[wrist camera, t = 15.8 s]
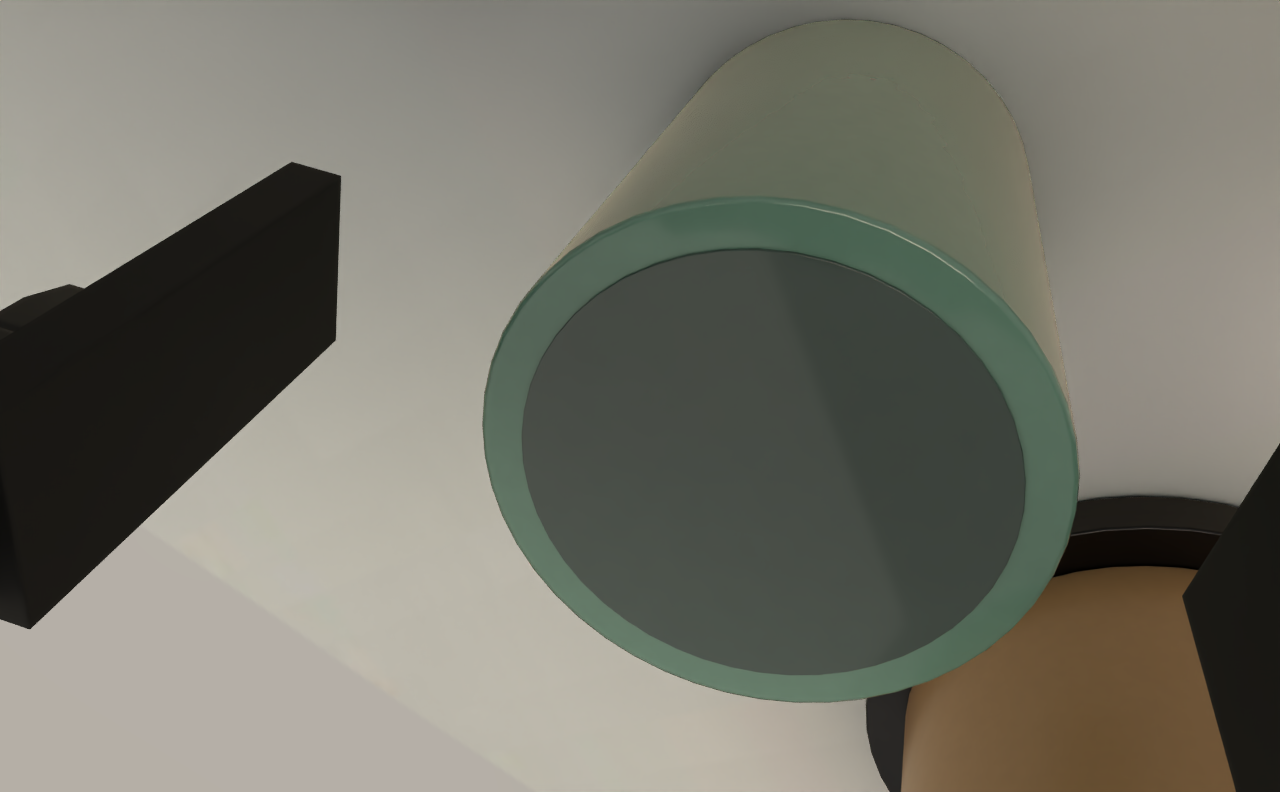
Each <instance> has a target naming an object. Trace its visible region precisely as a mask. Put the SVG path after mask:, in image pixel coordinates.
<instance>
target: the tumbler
mask: <svg viewBox="0 0 1280 792" xmlns="http://www.w3.org/2000/svg"><path fill="white" fill-rule="evenodd" d="M482 425H483V438H484V450H485V459H486V463H487V468H488V472H489V477H490V481H491V486H492V489H493V491H494V494H495V497H496V500H497V502H498V505H499V508H500V511H501V513H502V516H503V518H504V520H505V522H506V524H507V526H508V528H509V530H510V531H511V533H512V535H513V537H514V539H515V541H516V543H517V545H518V546H519V548H520V549H521V551H522V552H523V554H524V555H525V557H526V558H527V560H528V561H529V563H530V564H531V566H532V567H533V569H534V570H535V571H536V572H537V574H538V575H539V576H540V577H541V578H542V580H543V581H544V582H545V583H546V584H547V585H548V587H549V588H550V589H551V590H552V591H553V593H554V594H555V595H556V596H557V597H558V598H559V599H560V600H561V601H562V602H563V603H565V604H566V605H567V606H568V607H569V608H570V609H571V610H572V611H573V612H574V613H575V614H576V615H577V616H578V617H579V618H580V619H582V620H583V621H584V622H586V623H587V624H588V625H589V626H591V627H592V628H593V629H595V630H596V631H597V632H598V633H600V634H601V635H602V636H604V637H605V638H606V639H608V640H610V641H611V642H613V643H614V644H616V645H617V646H619V647H621V648H622V649H624V650H625V651H627V652H628V653H630V654H632V655H633V656H635V657H637V658H639V659H641V660H643V661H645V662H647V663H649V664H651V665H653V666H655V667H657V668H659V669H661V670H663V671H665V672H668V673H670V674H673V675H675V676H678V677H680V678H683V679H685V680H688V681H690V682H693V683H696V684H699V685H703V686H706V687H710V688H713V689H716V690H720V691H723V692H727V693H732V694H737V695H742V696H747V697H752V698H757V699H764V700H775V701H785V702H838V701H848V700H858V699H865V698H870V697H875V696H880V695H885V694H889V693H894V692H898V691H901V690H904V689H907V688H910V687H913V686H916V685H919V684H922V683H925V682H928V681H931V680H933V679H935V678H937V677H939V676H941V675H943V674H946V673H948V672H950V671H952V670H954V669H956V668H959V667H960V666H962V665H963V664H965V663H967V662H968V661H970V660H971V659H973V658H975V657H976V656H978V655H979V654H981V653H983V652H984V651H986V650H987V649H988V648H990V647H991V646H992V645H993V644H994V643H996V642H997V641H998V640H999V639H1000V638H1002V637H1003V636H1004V635H1005V634H1006V633H1008V632H1009V631H1010V630H1011V629H1012V628H1013V627H1014V626H1015V625H1016V624H1017V623H1018V622H1019V621H1020V620H1021V618H1022V617H1023V616H1024V615H1025V614H1026V613H1027V612H1028V611H1029V610H1030V608H1031V607H1032V606H1033V605H1034V604H1035V603H1036V601H1037V600H1038V598H1039V597H1040V595H1041V594H1042V592H1043V590H1044V589H1045V587H1046V586H1047V584H1048V583H1049V581H1050V580H1051V578H1052V577H1053V575H1054V574H1055V571H1056V569H1057V567H1058V565H1059V562H1060V560H1061V558H1062V556H1063V553H1064V551H1065V549H1066V547H1067V545H1068V542H1069V538H1070V534H1071V530H1072V526H1073V523H1074V519H1075V515H1076V511H1077V501H1078V490H1079V479H1080V471H1079V459H1078V447H1077V437H1076V431H1075V425H1074V420H1073V414H1072V409H1071V403H1070V397H1069V392H1068V386H1067V380H1066V375H1065V369H1064V363H1063V358H1062V352H1061V346H1060V341H1059V335H1058V329H1057V324H1056V318H1055V312H1054V307H1053V301H1052V295H1051V290H1050V284H1049V278H1048V273H1047V267H1046V261H1045V256H1044V250H1043V244H1042V239H1041V233H1040V227H1039V222H1038V216H1037V210H1036V205H1035V199H1034V194H1033V188H1032V182H1031V177H1030V171H1029V166H1028V161H1027V157H1026V153H1025V149H1024V145H1023V142H1022V139H1021V137H1020V134H1019V132H1018V129H1017V127H1016V124H1015V122H1014V119H1013V118H1012V116H1011V114H1010V113H1009V111H1008V109H1007V107H1006V106H1005V104H1004V102H1003V101H1002V99H1001V97H1000V96H999V95H998V94H997V92H996V91H995V90H994V89H993V88H992V86H991V85H990V84H989V83H988V81H987V80H986V79H985V78H984V77H983V76H982V75H981V74H980V73H979V72H978V71H977V70H976V69H975V68H974V67H972V66H971V65H970V64H969V63H968V62H967V61H966V60H964V59H963V58H962V57H960V56H959V55H957V54H956V53H954V52H953V51H952V50H950V49H949V48H947V47H946V46H944V45H942V44H940V43H938V42H936V41H934V40H932V39H930V38H928V37H926V36H924V35H922V34H920V33H917V32H914V31H911V30H908V29H905V28H902V27H899V26H896V25H890V24H885V23H880V22H875V21H866V20H848V19H842V20H830V21H818V22H814V23H809V24H804V25H800V26H795V27H792V28H789V29H786V30H783V31H781V32H778V33H775V34H772V35H770V36H768V37H766V38H764V39H762V40H760V41H758V42H756V43H754V44H752V45H750V46H748V47H747V48H745V49H744V50H742V51H741V52H740V53H738V54H737V55H735V56H734V57H732V58H731V59H730V60H728V61H727V62H726V63H725V64H724V65H722V66H721V67H720V68H719V69H718V70H717V71H716V72H715V73H714V74H713V75H712V76H711V77H710V78H709V79H708V80H707V81H706V82H705V83H704V85H703V86H702V87H701V88H700V89H699V90H698V92H697V93H696V94H695V95H694V96H693V98H692V99H691V100H690V101H689V102H688V103H687V105H686V106H685V107H684V108H683V109H682V111H681V112H680V113H679V114H678V115H677V116H676V118H675V119H674V120H673V121H672V122H671V124H670V125H669V126H668V127H667V128H666V129H665V131H664V132H663V133H662V134H661V135H660V137H659V138H658V139H657V140H656V141H655V142H654V144H653V145H652V146H651V147H650V148H649V150H648V151H647V152H646V153H645V154H644V155H643V157H642V158H641V159H640V160H639V161H638V163H637V164H636V165H635V166H634V167H633V168H632V170H631V171H630V172H629V173H628V174H627V176H626V177H625V178H624V179H623V180H622V181H621V183H620V184H619V185H618V186H617V187H616V189H615V190H614V191H613V192H612V193H611V194H610V196H609V197H608V198H607V199H606V200H605V202H604V203H603V204H602V205H601V206H600V207H599V209H598V210H597V211H596V212H595V213H594V215H593V216H592V217H591V218H590V219H589V221H588V222H587V223H586V224H585V225H584V226H583V228H582V229H581V230H580V231H579V232H578V234H577V235H576V236H575V237H574V238H573V239H572V241H571V242H570V243H569V244H568V245H567V247H566V248H565V249H564V250H563V251H562V252H561V254H560V255H559V256H558V257H557V258H556V260H555V261H554V262H553V263H552V264H551V265H550V267H549V268H548V269H547V270H546V271H545V273H544V274H543V275H542V276H541V277H540V279H539V280H538V281H537V282H536V283H535V285H534V286H533V287H532V288H531V290H530V291H529V292H528V293H527V294H526V296H525V297H524V298H523V299H522V301H521V302H520V303H519V305H518V306H517V308H516V310H515V312H514V313H513V315H512V317H511V318H510V320H509V322H508V324H507V325H506V327H505V329H504V330H503V332H502V335H501V338H500V340H499V343H498V345H497V348H496V350H495V353H494V356H493V358H492V361H491V365H490V369H489V374H488V378H487V383H486V387H485V392H484V407H483V422H482Z"/></svg>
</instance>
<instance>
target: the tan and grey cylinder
mask: <svg viewBox="0 0 1280 792" xmlns="http://www.w3.org/2000/svg"><path fill="white" fill-rule="evenodd" d="M1237 509H1238V508H1237V507H1233V506H1229V505H1225V504H1219V503H1212V502H1205V501H1198V500H1191V499H1184V498H1164V497H1124V498H1107V499H1096V500H1089V501H1083V502H1077V511H1076V515H1075V519H1074V523H1073V526H1072V530H1071V534H1070V538H1069V542H1068V545H1067V547H1066V549H1065V551H1064V553H1063V556H1062V558H1061V560H1060V562H1059V565H1058V567H1057V569H1056V571H1055V574H1054V575H1053V577H1052V578H1051V580H1050V581H1049V583H1048V584H1047V586H1046V587H1045V589H1044V590H1043V592H1042V594H1041V595H1040V597H1039V598H1038V600H1037V601H1036V603H1035V604H1034V605H1033V606H1032V607H1031V608H1030V610H1029V611H1028V612H1027V613H1026V614H1025V615H1024V616H1023V617H1022V618H1021V620H1020V621H1019V622H1018V623H1017V624H1016V625H1015V626H1014V627H1013V628H1012V629H1011V630H1010V631H1009V632H1008V633H1006V634H1005V635H1004V636H1003V637H1002V638H1000V639H999V640H998V641H997V642H996V643H994V644H993V645H992V646H991V647H990V648H988V649H987V650H986V651H984V652H983V653H981V654H979V655H978V656H976V657H975V658H973V659H971V660H970V661H968V662H967V663H965V664H963V665H962V666H960V667H959V668H956V669H954V670H952V671H950V672H948V673H946V674H943V675H941V676H939V677H937V678H935V679H933V680H931V681H928V682H925V683H922V684H919V685H916V686H913V687H910V688H907V689H904V690H901V691H898V692H894V693H889V694H885V695H880V696H875V697H870V698H867V700H866V725H867V733H868V738H869V743H870V748H871V753H872V755H873V758H874V760H875V763H876V765H877V768H878V771H879V773H880V776H881V778H882V779H883V781H884V783H885V785H886V786H887V788H888V790H889V791H890V792H1236V790H1235V786H1234V783H1233V779H1232V775H1231V772H1230V768H1229V765H1228V761H1227V757H1226V754H1225V750H1224V746H1223V743H1222V739H1221V736H1220V732H1219V728H1218V725H1217V721H1216V718H1215V714H1214V710H1213V707H1212V703H1211V699H1210V696H1209V692H1208V689H1207V685H1206V681H1205V678H1204V674H1203V670H1202V667H1201V663H1200V660H1199V656H1198V652H1197V649H1196V645H1195V641H1194V638H1193V634H1192V631H1191V627H1190V623H1189V620H1188V616H1187V613H1186V609H1185V605H1184V602H1183V598H1182V595H1183V594H1184V592H1185V590H1186V589H1187V587H1188V586H1189V584H1190V583H1191V581H1192V580H1193V578H1194V576H1195V575H1196V573H1197V572H1198V570H1199V569H1200V567H1201V566H1202V564H1203V562H1204V561H1205V559H1206V558H1207V556H1208V555H1209V553H1210V552H1211V550H1212V548H1213V547H1214V545H1215V544H1216V542H1217V541H1218V539H1219V537H1220V536H1221V534H1222V533H1223V531H1224V530H1225V528H1226V527H1227V525H1228V523H1229V522H1230V520H1231V519H1232V517H1233V516H1234V514H1235V513H1236V511H1237Z"/></svg>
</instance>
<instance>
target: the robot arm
mask: <svg viewBox="0 0 1280 792" xmlns="http://www.w3.org/2000/svg"><path fill="white" fill-rule="evenodd" d="M340 191H341V176H340V175H336V174H333V173H329V172H325V171H322V170H318V169H315V168H311V167H308V166H304V165H301V164H297V163H294V162H291V163H289V164H287V165H286V166H284V167H282V168H281V169H279V170H277V171H276V172H274V173H273V174H271V175H269V176H268V177H266V178H264V179H263V180H261V181H260V182H258V183H256V184H255V185H253V186H251V187H250V188H248V189H246V190H245V191H243V192H242V193H240V194H238V195H237V196H235V197H233V198H232V199H230V200H228V201H227V202H225V203H224V204H222V205H220V206H219V207H217V208H215V209H214V210H212V211H210V212H209V213H207V214H206V215H204V216H202V217H201V218H199V219H197V220H196V221H194V222H192V223H191V224H189V225H188V226H186V227H184V228H183V229H181V230H179V231H178V232H176V233H175V234H173V235H171V236H170V237H168V238H166V239H165V240H163V241H161V242H160V243H158V244H157V245H155V246H153V247H152V248H150V249H148V250H147V251H145V252H143V253H142V254H140V255H139V256H137V257H135V258H134V259H132V260H130V261H129V262H127V263H125V264H124V265H122V266H121V267H119V268H117V269H116V270H114V271H112V272H111V273H109V274H107V275H106V276H104V277H103V278H101V279H99V280H98V281H96V282H94V283H93V284H91V285H89V286H88V287H86V288H85V289H84V288H80V287H77V286H74V285H71V284H69V285H65V286H62V287H58V288H55V289H51V290H48V291H44V292H41V293H37V294H34V295H30V296H27V297H24V298H22V299H20V300H18V301H17V302H15V303H13V304H12V305H10V306H8V307H6V308H5V309H3V310H1V311H0V619H1V620H4V621H7V622H10V623H13V624H15V625H19V626H21V627H24V628H27V629H31V628H32V627H33V626H34V625H35V624H36V623H37V622H38V621H39V620H40V619H41V618H43V617H44V615H46V614H47V613H48V612H49V611H50V610H51V609H52V608H53V607H54V606H55V605H56V604H57V603H58V602H59V601H60V600H61V599H63V598H64V597H65V596H66V595H67V594H68V593H69V592H70V591H71V590H72V589H73V588H74V587H75V586H76V585H77V584H78V583H80V582H81V580H83V579H84V578H85V577H86V576H87V575H88V574H89V573H90V572H91V571H92V570H93V569H94V568H95V567H96V566H98V565H99V564H100V562H102V561H103V560H104V559H105V558H106V557H107V556H108V555H109V554H110V553H111V552H112V551H113V550H114V549H115V548H116V547H117V546H119V545H120V544H121V543H122V542H123V541H124V540H125V539H126V538H127V537H128V536H129V535H130V534H131V533H132V532H133V531H134V530H136V529H137V528H138V527H139V526H140V525H141V524H142V523H143V522H144V521H145V520H146V519H147V518H148V517H149V516H150V515H151V514H152V513H154V512H155V511H156V510H157V509H158V508H159V507H160V506H161V505H162V504H163V503H164V502H165V501H166V500H167V499H168V498H169V497H170V496H172V495H173V494H174V493H175V492H176V491H177V490H178V489H179V488H180V487H181V486H182V485H183V484H184V483H185V482H186V481H187V480H188V479H190V478H191V477H192V476H193V475H194V474H195V473H196V472H197V471H198V470H199V469H200V468H201V467H202V466H203V465H204V464H205V463H206V462H207V461H209V460H210V459H211V458H212V457H213V456H214V455H215V454H216V453H217V452H218V451H219V450H220V449H221V448H222V447H223V446H224V445H225V444H227V443H228V442H229V441H230V440H231V439H232V438H233V437H234V436H235V435H236V434H237V433H238V432H239V431H240V430H241V429H242V428H243V427H244V426H246V425H247V424H248V423H249V422H250V421H251V420H252V419H253V418H254V417H255V416H256V415H257V414H258V413H259V412H260V411H261V410H262V409H264V408H265V407H266V406H267V405H268V404H269V403H270V402H271V401H272V400H273V399H274V398H275V397H276V396H277V395H278V394H279V393H280V392H282V391H283V390H284V389H285V388H286V387H287V386H288V385H289V384H290V383H291V382H292V381H293V380H294V379H295V378H296V377H297V376H298V375H299V374H301V373H302V372H303V371H304V370H305V369H306V368H307V367H308V366H309V365H310V364H311V363H312V362H313V361H314V360H315V359H316V358H317V357H319V356H320V355H321V354H322V353H323V352H324V351H325V350H326V349H327V348H328V347H329V346H330V345H331V344H332V343H333V342H334V341H335V340H336V316H337V285H338V254H339V223H340ZM1182 598H1183V602H1184V605H1185V609H1186V613H1187V616H1188V620H1189V623H1190V627H1191V631H1192V634H1193V638H1194V641H1195V645H1196V649H1197V652H1198V656H1199V660H1200V663H1201V667H1202V670H1203V674H1204V678H1205V681H1206V685H1207V689H1208V692H1209V696H1210V699H1211V703H1212V707H1213V710H1214V714H1215V718H1216V721H1217V725H1218V728H1219V732H1220V736H1221V739H1222V743H1223V746H1224V750H1225V754H1226V757H1227V761H1228V765H1229V768H1230V772H1231V775H1232V779H1233V783H1234V786H1235V790H1236V792H1280V444H1279V445H1278V447H1277V449H1276V450H1275V452H1274V453H1273V455H1272V456H1271V458H1270V460H1269V461H1268V463H1267V464H1266V466H1265V467H1264V469H1263V470H1262V472H1261V474H1260V475H1259V477H1258V478H1257V480H1256V481H1255V483H1254V484H1253V486H1252V488H1251V489H1250V491H1249V492H1248V494H1247V495H1246V497H1245V499H1244V500H1243V502H1242V503H1241V505H1240V506H1239V508H1238V509H1237V511H1236V513H1235V514H1234V516H1233V517H1232V519H1231V520H1230V522H1229V523H1228V525H1227V527H1226V528H1225V530H1224V531H1223V533H1222V534H1221V536H1220V537H1219V539H1218V541H1217V542H1216V544H1215V545H1214V547H1213V548H1212V550H1211V552H1210V553H1209V555H1208V556H1207V558H1206V559H1205V561H1204V562H1203V564H1202V566H1201V567H1200V569H1199V570H1198V572H1197V573H1196V575H1195V576H1194V578H1193V580H1192V581H1191V583H1190V584H1189V586H1188V587H1187V589H1186V590H1185V592H1184V594H1183V595H1182Z"/></svg>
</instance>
